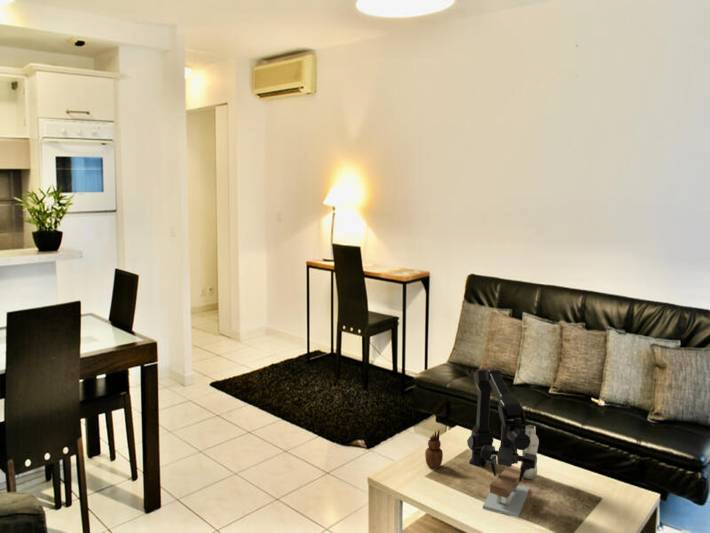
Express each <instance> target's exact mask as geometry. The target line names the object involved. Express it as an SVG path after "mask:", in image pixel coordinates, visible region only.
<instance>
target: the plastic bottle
mask: <svg viewBox="0 0 710 533" xmlns="http://www.w3.org/2000/svg"><path fill="white" fill-rule="evenodd" d="M536 428H537V427H536V425H531V424H528V425H527V424H526V426H525V433H526V434H527V435H528V436H529V438H530V445H529V446H528V448H526V449H525V450H521V452H522V455H521V456H525V454H526V453H529V454H533V455H536V456H537V457H538V454H537V453H538V448H539V443H540V441H539V440H540V439H539V438H538V435H537V434H536V433H537V431H536V430H537V429H536ZM520 463H521V464H520V467H519V470H520V471H521V466H522V464H523V462H521V461H520ZM537 464H538V463H537ZM537 464H536V466H535V469H531V468H530V470H526V471H525V473H524V476H523V479H524V478H525V479H527V480H533V479H535V478H536V477H537V475H538V466H537Z"/></svg>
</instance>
